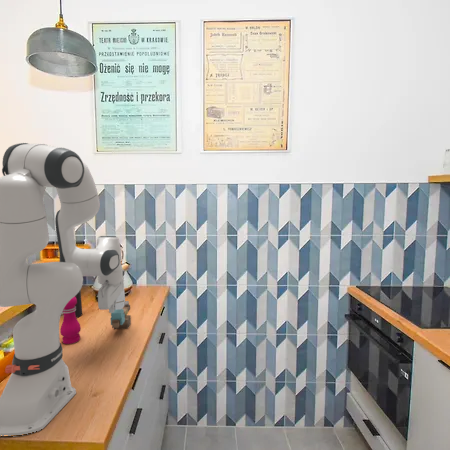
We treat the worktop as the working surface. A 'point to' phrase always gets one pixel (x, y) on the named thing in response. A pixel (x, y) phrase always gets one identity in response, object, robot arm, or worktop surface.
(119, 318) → the rider
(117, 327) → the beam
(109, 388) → the worktop surface
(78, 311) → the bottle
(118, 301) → the syrup box
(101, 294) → the robot arm
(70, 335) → the pepper mill
